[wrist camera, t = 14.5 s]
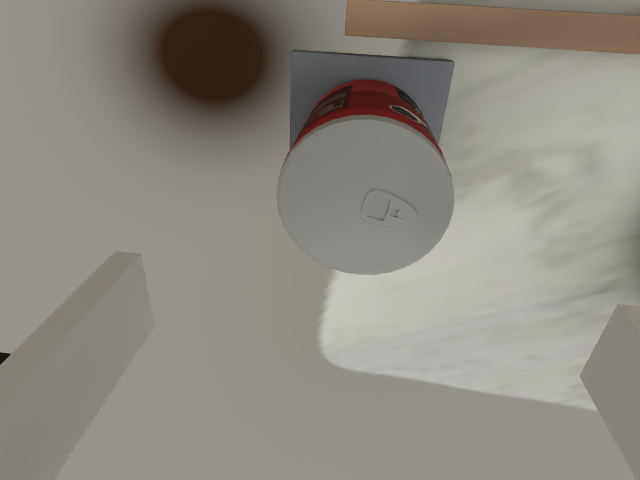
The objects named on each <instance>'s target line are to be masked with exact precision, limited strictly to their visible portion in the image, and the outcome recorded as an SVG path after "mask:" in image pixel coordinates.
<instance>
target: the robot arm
mask: <svg viewBox="0 0 640 480" xmlns="http://www.w3.org/2000/svg"><path fill="white" fill-rule="evenodd" d="M154 327H155V322H154V318H153V313H152V308H151V303H150V298H149V293H148V288H147V283H146V278H145V273H144V268H143V263H142V258H141V254H136V253H126V252H116V251H115V252H114V253H113V254H112V255H111V256H110V257H109V258H108V259H107V260H106V261H105V262H104V263H103V264H102V265H101V266H100V267H99V268H98V269H97V270H96V271H95V272H94V273H93V274H92V275H91V276H90V277H89V278H88V279H87V280H86V281H85V282H84V283H83V284H82V285H80V286H79V287H78V289H76V290H75V292H73V294H71V295H70V296H69V298H67V299H66V300H65V301H64V303H62V304H61V306H59V308H58V309H56V310H55V311H54V312H53V313H52V314H51V315H50V316H49V317H48V318H47V319H46V320H45V321H44V322H43V323H42V324H41V325H40V326H39V327H38V328H37V329H36V330H35V331H34V332H33V333H32V334H31V335H30V336H29V337H28V338H27V339H26V340H25V341H24V342H23V343H22V344H21V345H20V346H19V347H18V348H17V349H16V350H15V351H14V352H13V353H12V354H8V353H0V480H54V479H55V478H56V476H57V475H58V473H59V472H60V470H61V469H62V467H63V466H64V464H65V463H66V461H67V460H68V458H69V457H70V455H71V454H72V452H73V450H74V449H75V447H76V446H77V444H78V443H79V441H80V440H81V438H82V437H83V435H84V434H85V432H86V431H87V429H88V428H89V426H90V425H91V423H92V421H93V420H94V418H95V417H96V416H97V414H98V413H99V411H100V409H101V408H102V406H103V405H104V403H105V402H106V400H107V399H108V397H109V396H110V394H111V393H112V391H113V390H114V388H115V387H116V385H117V384H118V382H119V381H120V379H121V377H122V376H123V375H124V373H125V371H126V370H127V368H128V367H129V365H130V364H131V362H132V361H133V359H134V358H135V356H136V355H137V353H138V352H139V350H140V349H141V347H142V346H143V344H144V343H145V341H146V339H147V338H148V337H149V335H150V334H151V332H152V331H153V329H154ZM580 378H581V380H582V381H583V383H584V385H585V387H586V389H587V391H588V393H589V394H590V396H591V398H592V400H593V402H594V404H595V406H596V407H597V409H598V411H599V413H600V415H601V417H602V419H603V420H604V422H605V424H606V426H607V428H608V430H609V431H610V433H611V435H612V437H613V439H614V441H615V443H616V444H617V446H618V448H619V450H620V452H621V454H622V456H623V457H624V459H625V461H626V463H627V465H628V467H629V469H630V470H631V472H632V474H633V476H634V478H635V480H640V306H631V305H622V304H618V305H617V307H616V309H615V311H614V312H613V314H612V316H611V318H610V320H609V322H608V324H607V326H606V327H605V329H604V331H603V333H602V335H601V337H600V339H599V341H598V342H597V344H596V346H595V348H594V350H593V352H592V354H591V356H590V357H589V359H588V361H587V363H586V365H585V367H584V369H583V371H582V372H581V374H580Z"/></svg>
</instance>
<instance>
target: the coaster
mask: <svg viewBox="0 0 640 480" xmlns="http://www.w3.org/2000/svg"><path fill="white" fill-rule="evenodd" d="M454 63H455V62H454V61H452V60H441V59H426V58H411V57H396V56H381V55H366V54H351V53H336V52H320V51H305V50H293V51H291V109H290V149H291V147H292V146H293V144H294V142H295V140H296V139H297V137H298V135H299V133H300V131H301V130H302V128H303V126H304V124H305V123H306V121H307V119H308V117H309V115H310V114H311V112H312V110H313V109H314V107H315V105H316V104H317V103H318V101H319V100H320V99H321V98H322V97H323V96H324V95H325V94H327V93H328V92H329V91H331V90H332V89H333V88H335V87H337V86H339V85H342V84H344V83H347V82H351V81H355V80H366V79H371V80H377V81H383V82H386V83H388V84H391V85H394V86H396V87H397V88H399V89H401V90H402V91H404V92H405V93H406V94H407V95H408V96H409V97H411V98H412V99H413V100H414V101H415V103H416V104H417V106H418V107H419V109H420V110H421V112H422V114H423V116H424V118H425V120H426V122H427V124H428V126H429V128H430V130H431V132H432V134H433V136H434V138H435V140H436V142H437V144H439V138H440V133H441V128H442V123H443V118H444V113H445V108H446V103H447V98H448V93H449V88H450V83H451V78H452V73H453V68H454Z"/></svg>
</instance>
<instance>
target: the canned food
mask: <svg viewBox="0 0 640 480" xmlns="http://www.w3.org/2000/svg"><path fill="white" fill-rule="evenodd" d="M277 204H278V211H279V214H280V217H281V220H282V222H283V225H284V227H285V229H286V231H287V232H288V234H289V236H290V237H291V239H292V240H293V241H294V242H295V243H296V244H297V246H298V247H299V248H300V249H301V250H302V251H303V252H305V253H306V254H307V255H309V256H310V257H311V258H313V259H314V260H316V261H318V262H319V263H321V264H323V265H325V266H327V267H330V268H333V269H335V270H338V271H341V272H346V273H352V274H362V275H375V274H382V273H388V272H392V271H395V270H398V269H402V268H404V267H406V266H408V265H410V264H412V263H414V262H416V261H418V260H419V259H421V258H422V257H423V256H425V255H426V254H427V253H429V252H430V251H431V250H432V249H433V248H434V246H435V245H436V244H437V243H438V242H439V241H440V240H441V238H442V236H443V235H444V233H445V231H446V229H447V228H448V225H449V222H450V219H451V216H452V213H453V204H454V192H453V185H452V178H451V174H450V171H449V169H448V166H447V164H446V161H445V159H444V157H443V154H442V152H441V150H440V148H439V146H438V144H437V142H436V140H435V138H434V136H433V134H432V132H431V130H430V128H429V126H428V124H427V122H426V120H425V118H424V116H423V114H422V112H421V110H420V109H419V107H418V106H417V104H416V103H415V101H414V100H413V99H412V98H411V97H409V96H408V95H407V94H406V93H405V92H404V91H402V90H401V89H399V88H397V87H396V86H394V85H391V84H388V83H386V82H383V81H377V80H371V79H366V80H355V81H351V82H347V83H344V84H342V85H339V86H337V87H335V88H333V89H332V90H331V91H329V92H328V93H327V94H325V95H324V96H323V97H322V98H321V99H320V100H319V101H318V103H317V104H316V105H315V107H314V109H313V110H312V112H311V114H310V115H309V117H308V119H307V121H306V123H305V124H304V126H303V128H302V130H301V131H300V133H299V135H298V137H297V139H296V140H295V142H294V144H293V146H292V147H291V149H290V151H289V153H288V155H287V158H286V159H285V161H284V163H283V166H282V169H281V173H280V176H279V181H278V188H277Z"/></svg>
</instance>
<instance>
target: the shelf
mask: <svg viewBox="0 0 640 480" xmlns="http://www.w3.org/2000/svg"><path fill="white" fill-rule="evenodd" d="M345 35H347V36H364V37H380V38H394V39H395V38H396V39H409V40H425V41H441V42H456V43H472V44H488V45H503V46H519V47H534V48H550V49H566V50H581V51H597V52H612V53H628V54H640V16H636V15H619V14H602V13H585V12H568V11H550V10H533V9H516V8H499V7H482V6H465V5H448V4H431V3H414V2H397V1H379V0H347V10H346V26H345Z"/></svg>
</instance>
